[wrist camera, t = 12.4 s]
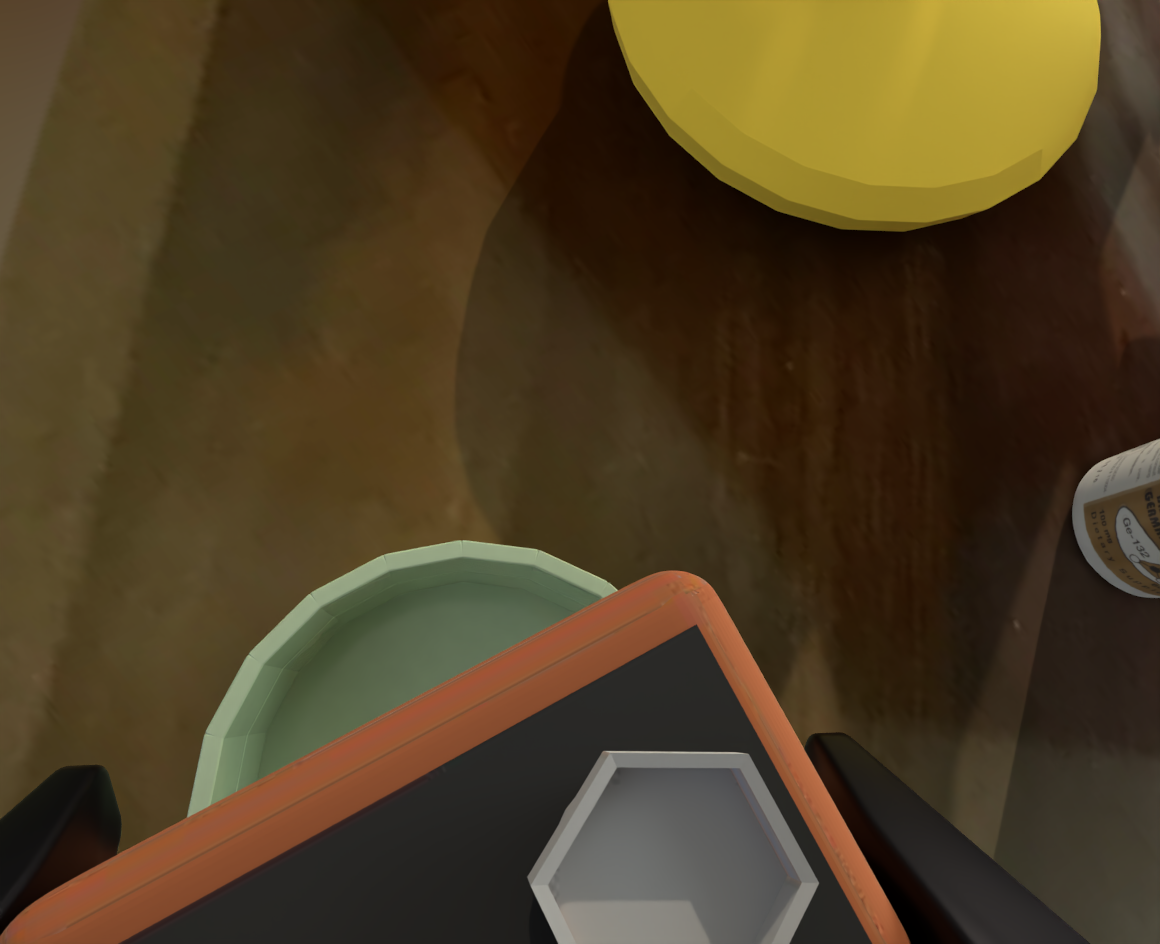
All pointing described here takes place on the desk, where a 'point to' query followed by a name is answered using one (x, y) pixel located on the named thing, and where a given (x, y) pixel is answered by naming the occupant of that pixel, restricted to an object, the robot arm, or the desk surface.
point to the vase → (867, 98)
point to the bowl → (379, 650)
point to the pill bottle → (1122, 519)
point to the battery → (520, 813)
